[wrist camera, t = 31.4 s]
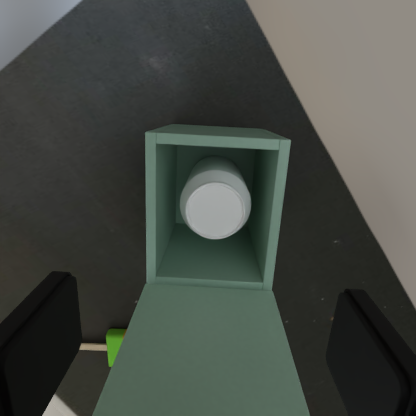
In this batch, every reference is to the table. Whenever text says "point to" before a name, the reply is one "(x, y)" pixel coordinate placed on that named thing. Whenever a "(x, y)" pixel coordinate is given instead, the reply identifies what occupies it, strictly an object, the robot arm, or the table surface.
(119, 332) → the popsicle
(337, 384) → the robot arm
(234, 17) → the table surface
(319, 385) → the table surface
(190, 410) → the lid
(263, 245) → the pale green hollow box
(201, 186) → the beverage can
